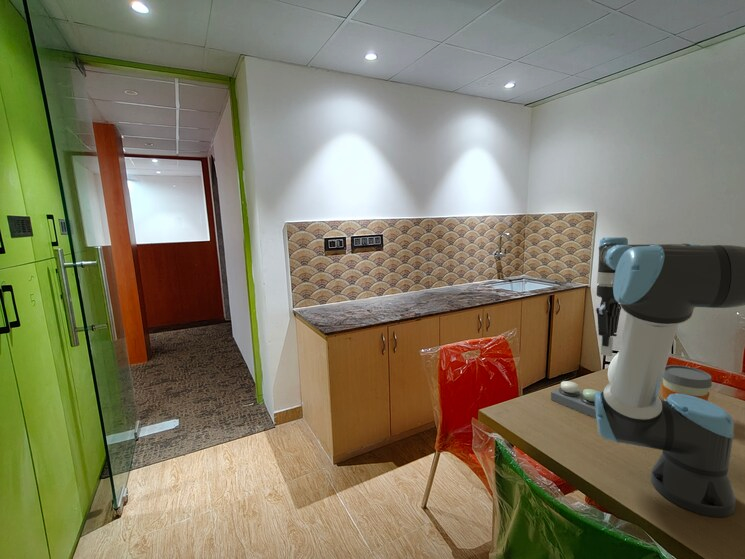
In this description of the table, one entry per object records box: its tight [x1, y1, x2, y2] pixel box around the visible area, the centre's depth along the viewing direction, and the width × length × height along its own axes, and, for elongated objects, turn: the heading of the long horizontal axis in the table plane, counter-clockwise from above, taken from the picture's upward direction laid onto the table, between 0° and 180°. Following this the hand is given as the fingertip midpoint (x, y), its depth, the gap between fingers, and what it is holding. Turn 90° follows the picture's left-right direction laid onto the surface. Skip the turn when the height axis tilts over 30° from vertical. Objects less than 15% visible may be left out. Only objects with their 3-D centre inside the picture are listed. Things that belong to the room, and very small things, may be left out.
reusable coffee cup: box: [661, 364, 713, 401], centre depth 118 cm, size 13×13×15 cm
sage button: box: [582, 388, 600, 402], centre depth 123 cm, size 6×6×2 cm
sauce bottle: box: [607, 351, 619, 384], centre depth 135 cm, size 8×8×18 cm
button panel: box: [550, 387, 596, 419], centre depth 123 cm, size 10×24×4 cm, turn 32°
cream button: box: [560, 380, 579, 393], centre depth 130 cm, size 6×6×2 cm
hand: (606, 354), depth 116 cm, fingers closed
